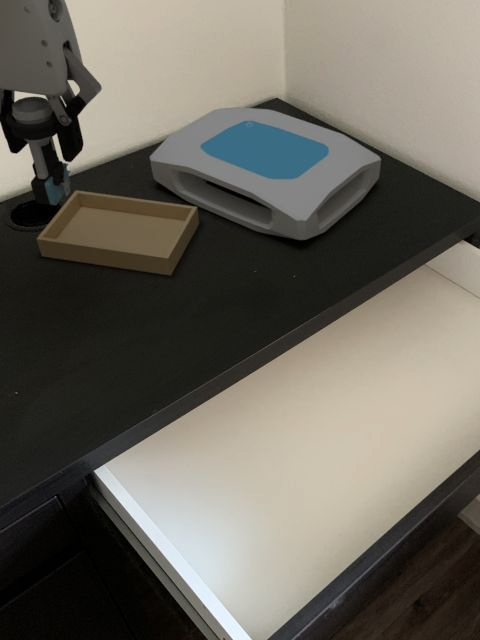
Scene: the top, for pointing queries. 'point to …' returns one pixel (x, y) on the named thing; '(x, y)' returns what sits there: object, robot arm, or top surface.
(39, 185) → the push button
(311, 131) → the grey rounded box
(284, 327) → the top surface
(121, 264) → the tray
